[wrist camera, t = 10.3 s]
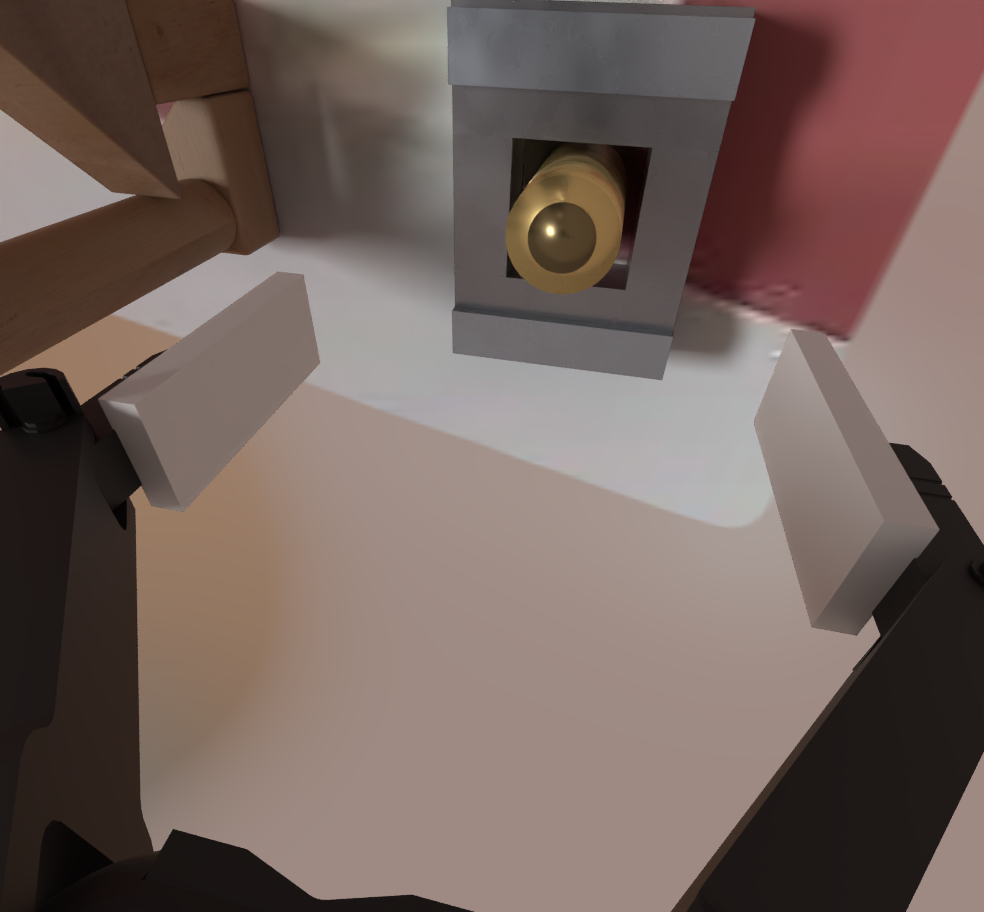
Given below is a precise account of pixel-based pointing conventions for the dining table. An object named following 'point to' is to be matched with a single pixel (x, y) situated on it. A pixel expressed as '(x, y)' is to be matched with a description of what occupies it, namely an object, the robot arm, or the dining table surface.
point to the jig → (585, 119)
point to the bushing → (569, 218)
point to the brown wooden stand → (128, 155)
